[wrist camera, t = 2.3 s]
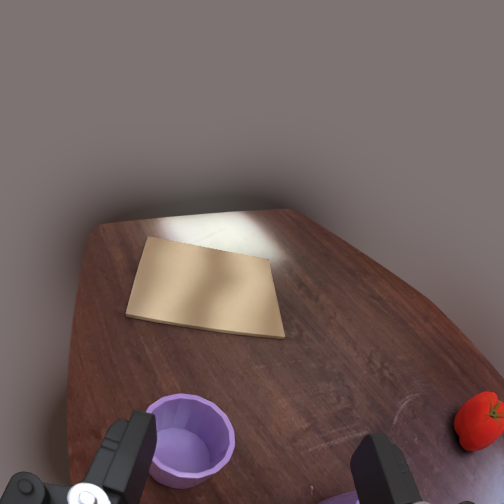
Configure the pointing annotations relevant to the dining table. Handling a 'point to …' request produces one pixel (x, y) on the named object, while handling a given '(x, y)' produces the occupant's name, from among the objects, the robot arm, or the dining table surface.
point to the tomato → (480, 421)
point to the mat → (205, 290)
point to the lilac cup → (342, 499)
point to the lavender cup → (189, 440)
